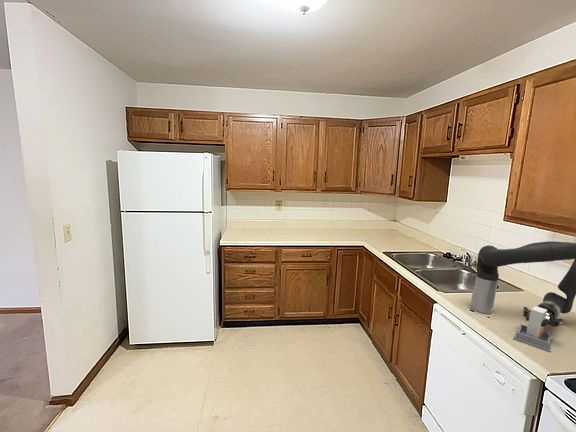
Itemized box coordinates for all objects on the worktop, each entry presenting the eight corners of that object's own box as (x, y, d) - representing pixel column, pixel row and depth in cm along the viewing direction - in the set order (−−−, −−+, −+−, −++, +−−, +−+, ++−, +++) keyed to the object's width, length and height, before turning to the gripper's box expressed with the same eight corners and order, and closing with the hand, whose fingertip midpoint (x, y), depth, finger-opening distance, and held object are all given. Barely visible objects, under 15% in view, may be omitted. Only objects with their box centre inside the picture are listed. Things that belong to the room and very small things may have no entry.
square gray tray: (513, 339, 128) (514, 332, 127) (517, 329, 136) (518, 322, 136) (550, 352, 120) (552, 344, 119) (552, 340, 128) (553, 333, 128)
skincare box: (538, 340, 124) (543, 313, 122) (525, 335, 127) (530, 309, 125) (542, 335, 128) (547, 309, 126) (530, 331, 131) (535, 305, 129)
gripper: (529, 297, 140) (516, 306, 130) (570, 310, 128) (559, 321, 118) (526, 312, 141) (513, 322, 131) (566, 326, 130) (555, 338, 120)
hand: (535, 321), depth 125 cm, fingers closed on skincare box, 4 cm apart
